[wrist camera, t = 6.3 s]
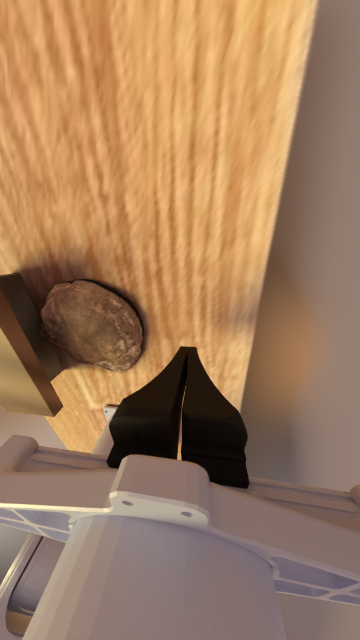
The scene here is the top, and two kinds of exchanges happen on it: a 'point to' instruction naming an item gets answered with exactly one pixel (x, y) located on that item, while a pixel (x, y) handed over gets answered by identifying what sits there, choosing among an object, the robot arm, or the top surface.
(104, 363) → the shell
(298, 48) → the top surface
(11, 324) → the walnut shelf
